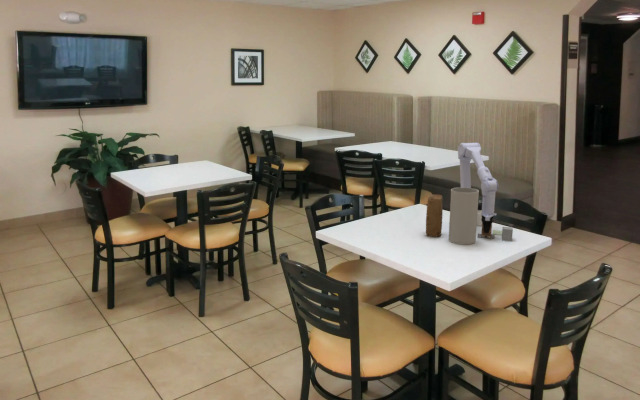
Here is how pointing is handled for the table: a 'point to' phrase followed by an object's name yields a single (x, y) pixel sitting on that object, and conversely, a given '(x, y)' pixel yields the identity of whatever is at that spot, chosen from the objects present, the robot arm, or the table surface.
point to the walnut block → (486, 233)
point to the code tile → (486, 236)
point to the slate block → (507, 233)
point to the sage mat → (497, 232)
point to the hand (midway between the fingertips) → (486, 231)
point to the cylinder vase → (463, 215)
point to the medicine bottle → (479, 214)
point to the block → (434, 215)
